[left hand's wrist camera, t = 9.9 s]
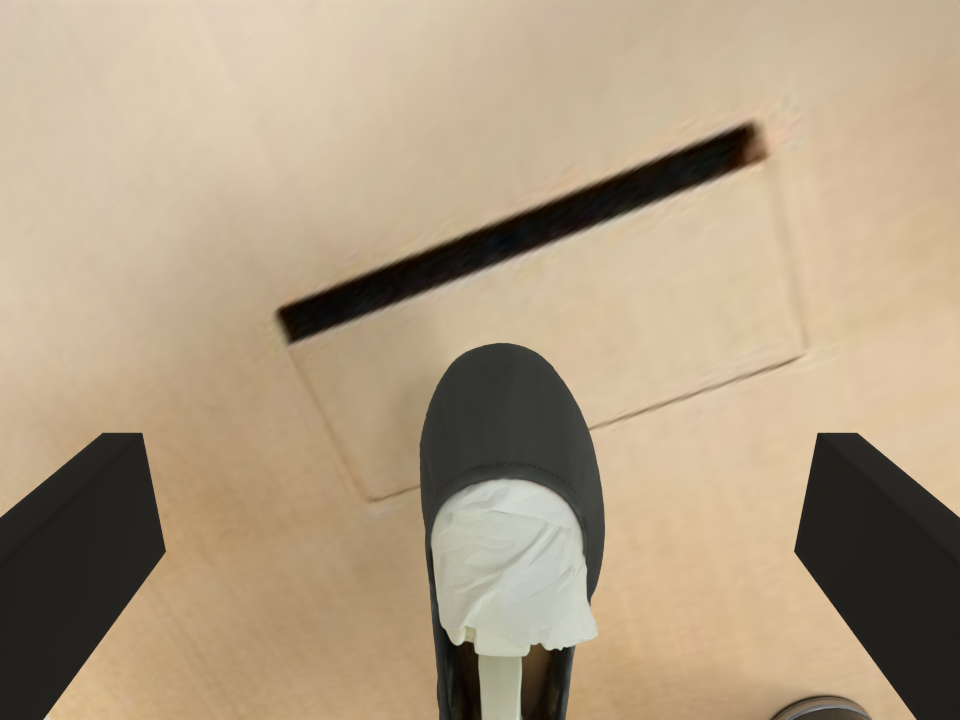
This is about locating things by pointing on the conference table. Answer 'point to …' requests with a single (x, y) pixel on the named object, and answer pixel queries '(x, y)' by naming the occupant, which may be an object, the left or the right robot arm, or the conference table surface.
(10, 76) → the conference table surface
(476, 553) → the ballet flat
